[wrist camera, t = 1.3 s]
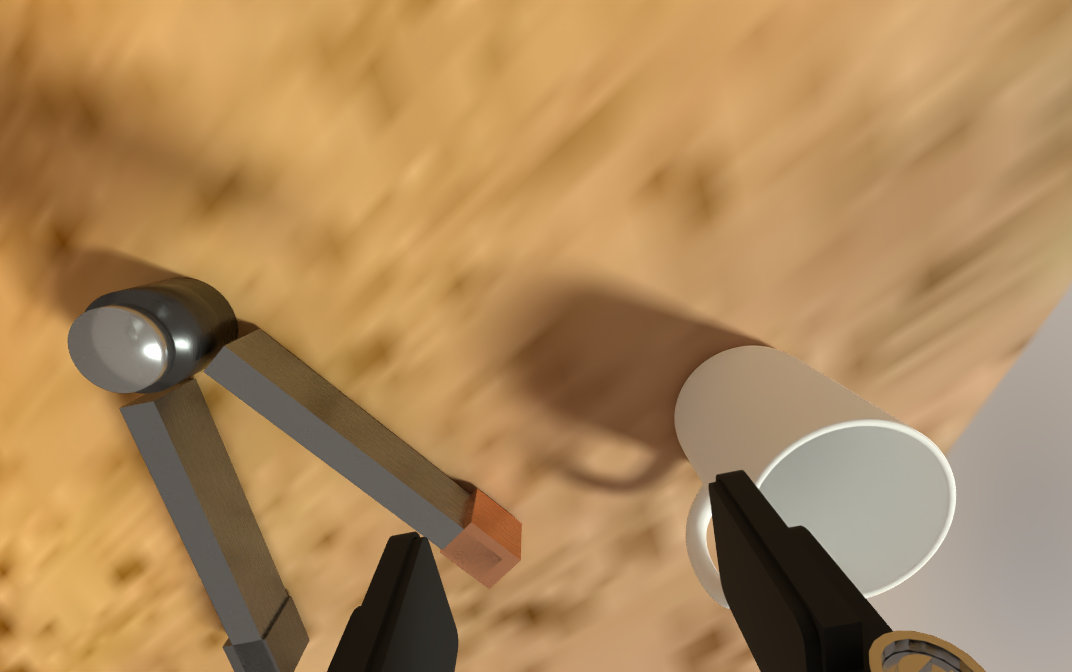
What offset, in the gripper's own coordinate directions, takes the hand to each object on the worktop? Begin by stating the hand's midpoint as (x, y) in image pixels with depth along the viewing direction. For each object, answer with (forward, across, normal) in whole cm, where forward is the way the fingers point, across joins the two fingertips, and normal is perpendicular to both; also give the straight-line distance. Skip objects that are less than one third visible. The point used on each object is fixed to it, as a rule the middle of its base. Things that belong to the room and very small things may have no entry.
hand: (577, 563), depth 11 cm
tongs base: (+18, +19, +5) cm, 27 cm away
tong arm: (+17, +13, +3) cm, 22 cm away
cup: (+18, -9, +8) cm, 21 cm away
